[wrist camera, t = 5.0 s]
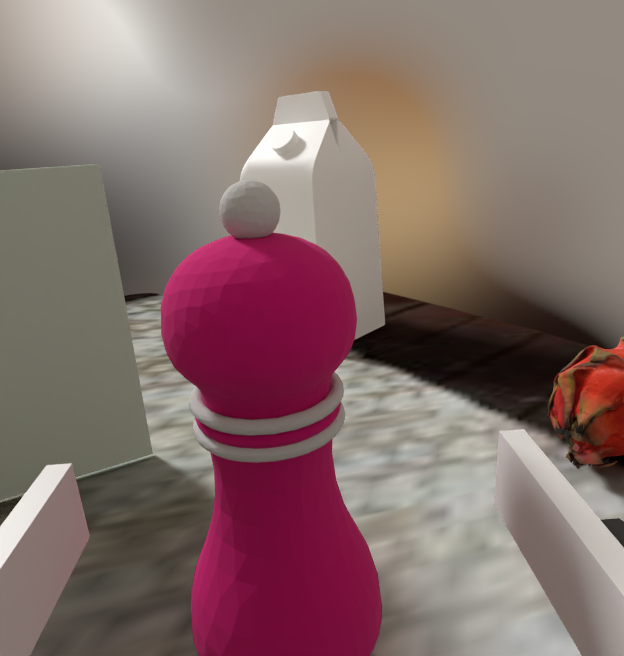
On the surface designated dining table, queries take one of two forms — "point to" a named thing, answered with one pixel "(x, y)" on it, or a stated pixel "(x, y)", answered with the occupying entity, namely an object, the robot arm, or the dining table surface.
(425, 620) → the dining table surface
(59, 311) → the door
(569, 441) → the dragon fruit
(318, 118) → the milk
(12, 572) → the robot arm
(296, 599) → the pepper mill
